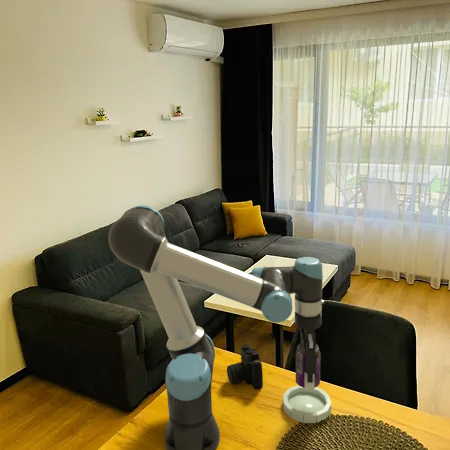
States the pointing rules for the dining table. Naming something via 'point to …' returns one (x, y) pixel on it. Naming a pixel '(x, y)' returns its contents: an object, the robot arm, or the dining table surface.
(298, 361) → the beverage can
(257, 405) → the dining table surface
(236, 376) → the camera
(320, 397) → the tray
